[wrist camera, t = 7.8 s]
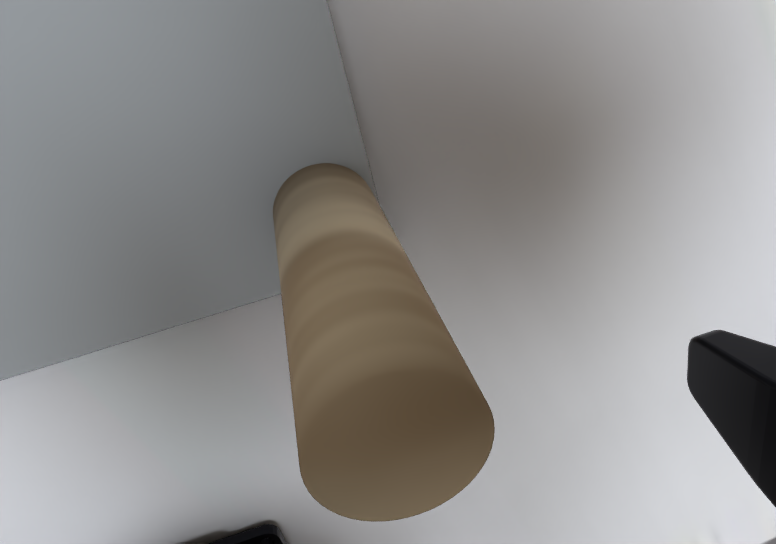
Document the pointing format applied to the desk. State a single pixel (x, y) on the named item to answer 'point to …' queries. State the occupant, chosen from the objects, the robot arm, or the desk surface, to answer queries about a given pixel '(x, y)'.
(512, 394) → the desk surface
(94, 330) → the jig
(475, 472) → the dowel
